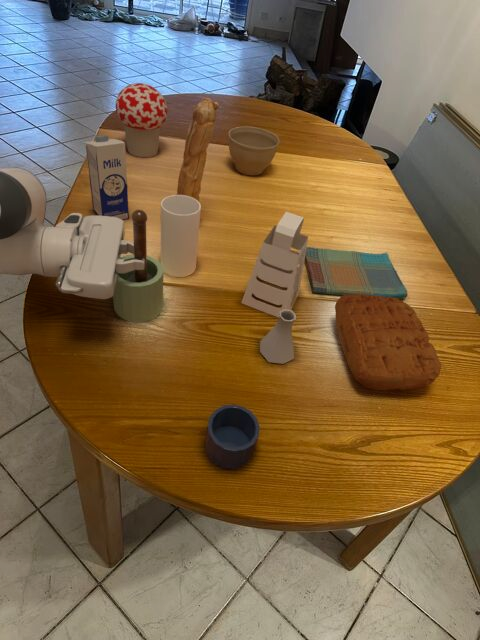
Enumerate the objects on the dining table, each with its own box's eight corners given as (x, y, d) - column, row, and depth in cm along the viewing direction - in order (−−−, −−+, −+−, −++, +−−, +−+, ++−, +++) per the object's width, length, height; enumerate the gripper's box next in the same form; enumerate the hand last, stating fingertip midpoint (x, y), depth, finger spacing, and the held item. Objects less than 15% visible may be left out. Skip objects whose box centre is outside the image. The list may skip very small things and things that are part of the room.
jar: (127, 328, 82) (124, 292, 75) (106, 298, 87) (101, 261, 80) (171, 312, 87) (172, 277, 80) (148, 284, 92) (148, 249, 85)
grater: (299, 292, 97) (323, 217, 83) (285, 320, 90) (309, 243, 76) (257, 277, 99) (274, 201, 85) (241, 303, 92) (256, 224, 78)
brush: (135, 306, 81) (132, 221, 68) (125, 292, 83) (119, 206, 70) (158, 299, 83) (158, 214, 70) (146, 285, 86) (145, 201, 72)
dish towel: (406, 302, 100) (411, 294, 99) (312, 295, 97) (315, 286, 96) (385, 259, 113) (389, 251, 111) (301, 251, 110) (303, 243, 108)
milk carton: (103, 224, 105) (95, 145, 92) (92, 211, 109) (83, 133, 95) (129, 218, 109) (125, 141, 95) (118, 206, 113) (113, 130, 99)
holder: (222, 478, 63) (227, 460, 59) (195, 438, 67) (198, 418, 63) (262, 453, 67) (269, 434, 63) (234, 417, 71) (239, 396, 67)
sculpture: (211, 221, 114) (224, 103, 93) (183, 230, 109) (189, 108, 88) (197, 209, 117) (206, 93, 96) (169, 217, 112) (172, 97, 91)
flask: (265, 367, 80) (275, 331, 73) (254, 339, 85) (263, 303, 78) (299, 362, 82) (313, 327, 75) (287, 335, 87) (298, 300, 80)
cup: (202, 263, 100) (207, 203, 89) (184, 281, 94) (188, 219, 83) (172, 251, 102) (174, 190, 91) (153, 268, 96) (153, 206, 85)
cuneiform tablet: (325, 314, 93) (336, 286, 88) (397, 319, 96) (412, 292, 90) (349, 397, 78) (364, 370, 72) (434, 400, 80) (455, 374, 74)
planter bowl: (226, 155, 145) (230, 123, 137) (272, 162, 146) (278, 130, 138) (223, 176, 133) (227, 142, 126) (273, 184, 134) (280, 150, 127)
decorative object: (118, 139, 142) (114, 73, 128) (165, 142, 145) (166, 78, 131) (117, 160, 131) (113, 90, 117) (168, 163, 134) (169, 96, 121)
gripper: (49, 276, 65) (140, 280, 67) (74, 207, 79) (148, 213, 82) (56, 305, 70) (141, 309, 72) (78, 235, 84) (149, 240, 86)
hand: (145, 257), depth 77 cm, fingers closed on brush, 2 cm apart
